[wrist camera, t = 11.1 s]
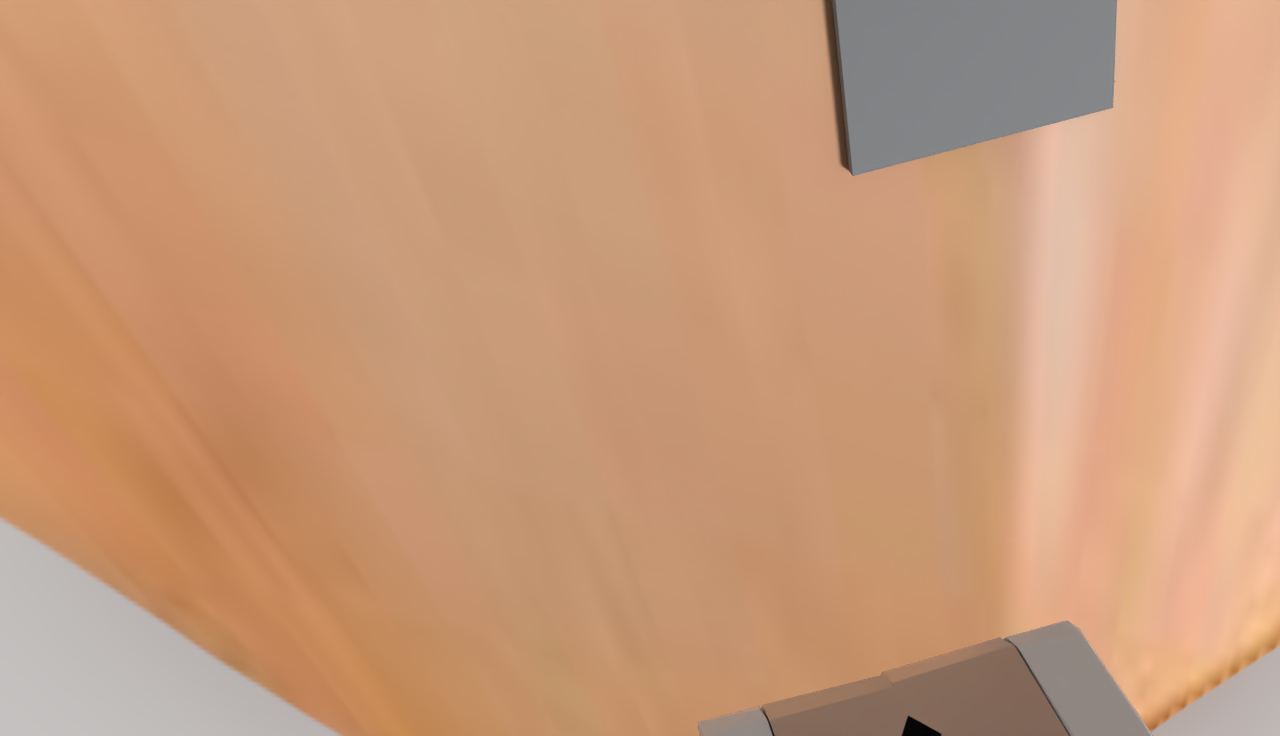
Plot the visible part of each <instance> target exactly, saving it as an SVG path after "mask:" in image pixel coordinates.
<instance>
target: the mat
mask: <svg viewBox="0 0 1280 736" xmlns="http://www.w3.org/2000/svg"><path fill="white" fill-rule="evenodd" d="M832 7H833V17H834V27H835V37H836V47H837V57H838V67H839V76H840V86H841V96H842V106H843V116H844V126H845V136H846V146H847V156H848V166H849V172H850V173H851V174H852V175H853V176H855V175H858V174H862V173H866V172H870V171H874V170H878V169H881V168H885V167H889V166H893V165H897V164H900V163H904V162H908V161H912V160H916V159H919V158H923V157H927V156H931V155H935V154H938V153H942V152H946V151H950V150H954V149H958V148H961V147H965V146H969V145H973V144H977V143H980V142H984V141H988V140H992V139H996V138H999V137H1003V136H1007V135H1011V134H1015V133H1018V132H1022V131H1026V130H1030V129H1034V128H1038V127H1041V126H1045V125H1049V124H1053V123H1057V122H1060V121H1064V120H1068V119H1072V118H1076V117H1079V116H1083V115H1087V114H1091V113H1095V112H1099V111H1102V110H1106V109H1110V108H1113V94H1114V66H1115V38H1116V10H1117V0H832Z"/></svg>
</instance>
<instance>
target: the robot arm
mask: <svg viewBox="0 0 1280 736" xmlns="http://www.w3.org/2000/svg"><path fill="white" fill-rule="evenodd" d="M698 731H699V735H700V736H1153V735H1152V733H1151V732H1150V730H1149V729H1148V727H1147V726H1146V724H1145V723H1144V722H1143V720H1142V719H1141V717H1140V716H1139V714H1138V713H1137V711H1136V710H1135V708H1134V707H1133V705H1132V704H1131V703H1130V701H1129V700H1128V698H1127V697H1126V695H1125V694H1124V692H1123V691H1122V689H1121V688H1120V686H1119V685H1118V684H1117V682H1116V681H1115V679H1114V678H1113V676H1112V675H1111V673H1110V672H1109V670H1108V669H1107V668H1106V666H1105V665H1104V663H1103V662H1102V660H1101V659H1100V657H1099V656H1098V654H1097V653H1096V651H1095V650H1094V649H1093V647H1092V646H1091V644H1090V643H1089V641H1088V640H1087V638H1086V637H1085V635H1084V634H1083V632H1082V631H1081V630H1080V629H1079V628H1078V627H1076V626H1075V625H1073V624H1072V623H1070V622H1069V621H1062V622H1058V623H1055V624H1051V625H1048V626H1044V627H1041V628H1037V629H1034V630H1030V631H1027V632H1023V633H1020V634H1016V635H1013V636H1009V637H1006V638H1004V639H1001V638H996V639H993V640H990V641H986V642H983V643H979V644H976V645H973V646H969V647H966V648H962V649H959V650H956V651H952V652H949V653H945V654H942V655H939V656H935V657H932V658H929V659H925V660H922V661H918V662H915V663H912V664H908V665H905V666H901V667H898V668H895V669H891V670H888V671H884V672H882V674H881V675H880V676H876V677H872V678H868V679H864V680H860V681H856V682H852V683H848V684H844V685H840V686H836V687H832V688H828V689H824V690H820V691H816V692H812V693H808V694H804V695H800V696H796V697H792V698H788V699H784V700H780V701H776V702H772V703H768V704H764V705H762V707H761V708H760V706H757V707H753V708H749V709H746V710H742V711H738V712H735V713H731V714H727V715H723V716H720V717H716V718H712V719H709V720H705V721H701V722H698Z"/></svg>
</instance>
